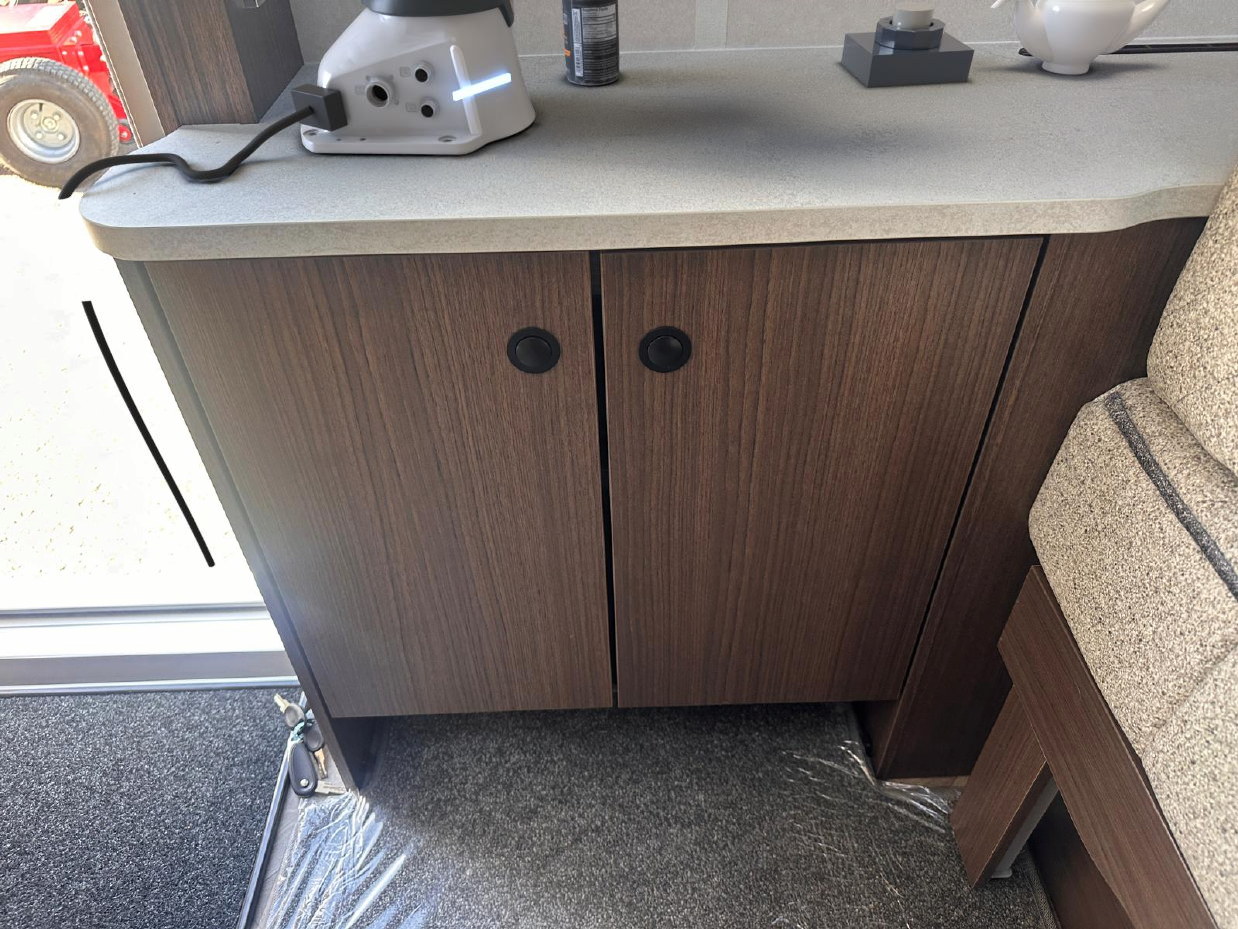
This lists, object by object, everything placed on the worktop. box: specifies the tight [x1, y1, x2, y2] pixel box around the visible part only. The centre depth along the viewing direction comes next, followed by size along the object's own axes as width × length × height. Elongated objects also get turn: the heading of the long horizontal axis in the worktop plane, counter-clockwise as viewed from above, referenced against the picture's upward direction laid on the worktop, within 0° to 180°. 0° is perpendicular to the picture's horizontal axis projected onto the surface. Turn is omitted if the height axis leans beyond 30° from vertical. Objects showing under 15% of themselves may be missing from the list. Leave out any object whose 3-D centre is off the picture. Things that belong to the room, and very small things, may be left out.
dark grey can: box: [561, 0, 621, 86], centre depth 89 cm, size 6×6×11 cm
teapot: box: [990, 0, 1173, 76], centre depth 89 cm, size 10×20×9 cm, turn 91°
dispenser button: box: [892, 1, 935, 29], centre depth 89 cm, size 4×4×2 cm
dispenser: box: [840, 15, 975, 88], centre depth 91 cm, size 11×9×5 cm
